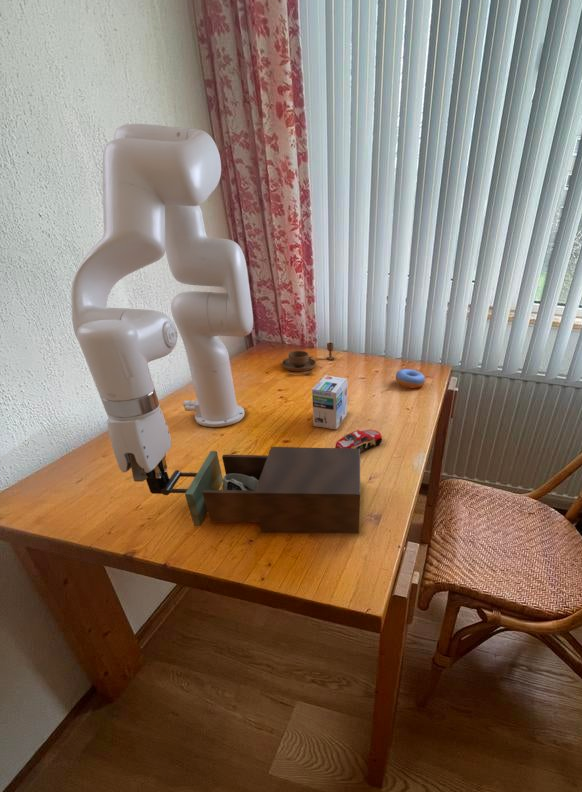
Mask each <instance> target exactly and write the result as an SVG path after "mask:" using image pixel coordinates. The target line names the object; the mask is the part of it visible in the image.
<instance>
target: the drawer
mask: <svg viewBox="0 0 582 792" xmlns="http://www.w3.org/2000/svg"><path fill="white" fill-rule="evenodd" d="M218 455H219V454H218V451H217V450H210V451H209V453H208V455H207V456H206V458H205V459H204V461H203V463H202V464H201V466H200V468H199V470H198V472H182V471H180V470H178V469H175V470H174V471H173V473H172V474H171V476H170V477H169V480H168V481H167V483H166V484H165V486H164V487H163V489H162V490H161V493H162V494H161V495H163V496H168V495H169V496H170V494H184V497H185V500H186V503H187V507H188V509H189V513H190V517H191V520H192V524H193V527H202V526H203V523H204V521H205V520H206V517H207V516H208V518H209V522H210V523H259V518H258V512H257V506H256V500H255V494H254V493H255V491H254V490H252V489H250V488H248V487H247V486H244V485H243V486H244V487H245V489H246V490H222V489H221V487H222V486H223V477H224V476H223V473H222V468H221V463H220V460H219V456H218ZM267 457H268V455H267V454H266V455H264V454H263V455H262V454H261V455H260V454H222V456H221V458H222V463H223V467H224V472H225V475H227V474H233V473H235V474H243V475H246V476H249V477H254V478H256V479H257V480H258V481H259V479H260V476H261V473H262V471H263V468H264V465H265V462H266V460H267ZM181 477H183V478H193V480H192V481H191V483H190V484H189V486H188V488H174V487H175V486H176V484H177V483H178V482H179V480H180V478H181Z"/></svg>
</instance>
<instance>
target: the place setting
mask: <svg viewBox="0 0 582 792" xmlns="http://www.w3.org/2000/svg"><path fill="white" fill-rule="evenodd" d="M326 350H327V351H328V357H326V360H328V361H334V360H335V358H334V357H333V354H332V351H334V343H333V342H327V343H326ZM281 365H282V367H283V368H284V369H285V370H287V371H290V372H293V373H289V374H287V376H293V375H300V374H302V375H310V374H312V373H313V371H312V370H313V369H314V368H315V367H316V365H317V361H316V360H315V359H314V358H313V355H311V356H309V353H308V352H307V351H303V350H293V351H290V352H289V353H288V358H285V359H283V360H282V361H281Z"/></svg>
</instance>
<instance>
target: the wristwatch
mask: <svg viewBox="0 0 582 792" xmlns="http://www.w3.org/2000/svg"><path fill="white" fill-rule="evenodd" d="M222 477H223V483H222V486H221V487H222V489H221V490H246V489H245V487H244V486H247V487H248V488H250V489H252V490H254V491H255V490H256V487H257V484H258V482H259V481H258V480H257V479H256V478H254V477H249V476H246V475H243V474H235V473H233V474H227V475H226V474H225V475H224V476H222ZM243 485H244V486H243Z"/></svg>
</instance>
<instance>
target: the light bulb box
mask: <svg viewBox="0 0 582 792" xmlns="http://www.w3.org/2000/svg"><path fill="white" fill-rule="evenodd" d="M311 397H312V414H313V415H312V416H313V417H312V418H313V426H314V427H317V428H323V429H324V428H325V429H330V430H338V428H339V427H340V425H341V424H342V422H343V421H344V419H345V418H346V417H347V415H348V378H346V377H345V378H344V377H338V376H332V375H324V376H323V377H322V378H321V379H320V380H319V381H318V382H317V383H316V384H315V385H314V387H313V388H311Z"/></svg>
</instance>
